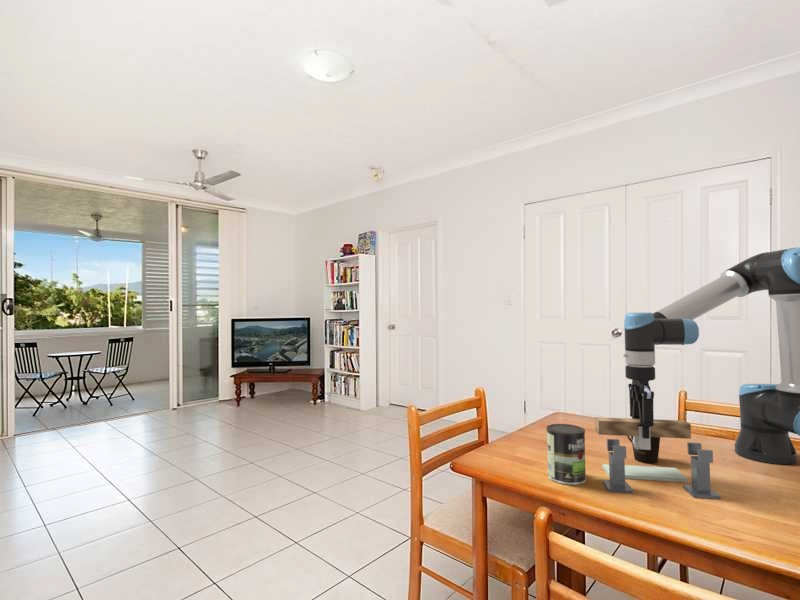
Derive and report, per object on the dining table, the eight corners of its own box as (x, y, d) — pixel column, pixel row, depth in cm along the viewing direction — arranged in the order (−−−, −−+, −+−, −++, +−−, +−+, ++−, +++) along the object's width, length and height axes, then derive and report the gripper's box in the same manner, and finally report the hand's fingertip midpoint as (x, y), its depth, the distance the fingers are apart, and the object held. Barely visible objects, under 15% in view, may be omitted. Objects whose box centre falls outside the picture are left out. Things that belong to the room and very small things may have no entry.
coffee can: (594, 480, 118) (593, 430, 118) (568, 488, 113) (567, 435, 113) (564, 468, 127) (563, 421, 127) (539, 475, 122) (538, 426, 122)
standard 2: (707, 488, 111) (706, 443, 111) (721, 499, 105) (719, 451, 105) (682, 487, 112) (681, 442, 113) (694, 497, 106) (692, 450, 106)
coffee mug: (666, 466, 128) (665, 432, 128) (635, 464, 129) (634, 431, 129) (651, 453, 139) (651, 422, 139) (623, 451, 141) (622, 421, 141)
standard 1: (625, 483, 115) (624, 439, 115) (633, 494, 109) (632, 447, 109) (602, 482, 116) (601, 438, 117) (608, 492, 110) (607, 446, 110)
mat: (675, 471, 123) (675, 467, 123) (688, 482, 115) (688, 478, 115) (602, 467, 127) (602, 464, 127) (609, 477, 119) (609, 474, 119)
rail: (684, 434, 121) (684, 420, 121) (691, 438, 117) (690, 424, 117) (595, 430, 126) (594, 417, 126) (598, 434, 122) (598, 420, 122)
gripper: (616, 361, 131) (618, 436, 131) (636, 369, 115) (638, 455, 114) (643, 361, 130) (645, 438, 129) (666, 369, 113) (668, 457, 112)
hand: (641, 446), depth 122 cm, fingers closed on rail, 4 cm apart
